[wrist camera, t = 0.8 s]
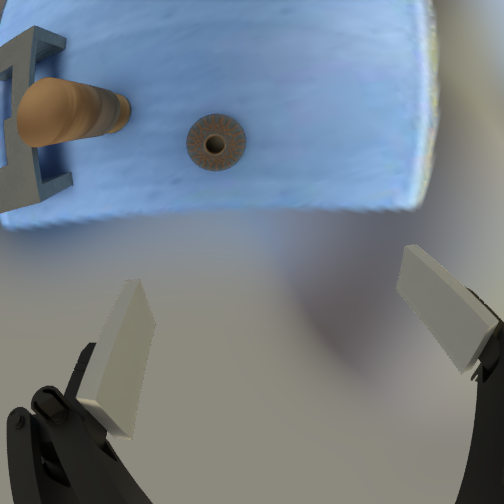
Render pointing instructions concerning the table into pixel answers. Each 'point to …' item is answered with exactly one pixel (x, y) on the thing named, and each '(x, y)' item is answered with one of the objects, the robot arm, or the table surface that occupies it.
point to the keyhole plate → (18, 153)
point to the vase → (216, 142)
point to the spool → (69, 112)
